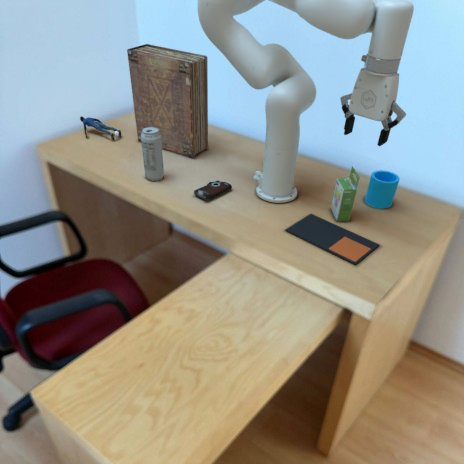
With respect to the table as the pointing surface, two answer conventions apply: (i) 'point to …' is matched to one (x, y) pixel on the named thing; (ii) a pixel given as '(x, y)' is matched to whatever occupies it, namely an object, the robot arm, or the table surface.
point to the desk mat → (333, 238)
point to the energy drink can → (152, 153)
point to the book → (171, 96)
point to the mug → (381, 189)
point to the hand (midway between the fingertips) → (364, 138)
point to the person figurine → (99, 126)
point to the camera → (212, 190)
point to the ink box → (344, 196)
